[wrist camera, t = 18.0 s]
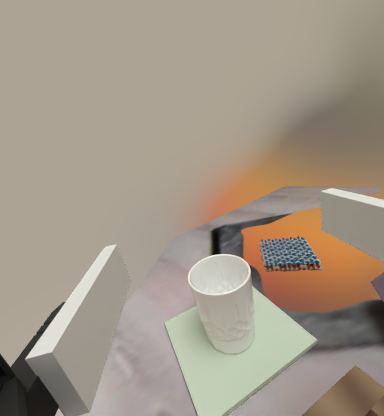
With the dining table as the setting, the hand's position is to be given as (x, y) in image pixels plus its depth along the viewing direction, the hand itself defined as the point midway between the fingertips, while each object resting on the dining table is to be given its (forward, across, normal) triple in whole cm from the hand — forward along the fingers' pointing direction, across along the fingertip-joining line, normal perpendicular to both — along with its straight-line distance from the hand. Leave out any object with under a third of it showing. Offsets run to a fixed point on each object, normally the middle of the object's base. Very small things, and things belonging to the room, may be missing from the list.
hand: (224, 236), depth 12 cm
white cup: (+10, 0, -20) cm, 22 cm away
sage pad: (+10, 0, -20) cm, 22 cm away
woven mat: (+24, +16, -21) cm, 36 cm away
